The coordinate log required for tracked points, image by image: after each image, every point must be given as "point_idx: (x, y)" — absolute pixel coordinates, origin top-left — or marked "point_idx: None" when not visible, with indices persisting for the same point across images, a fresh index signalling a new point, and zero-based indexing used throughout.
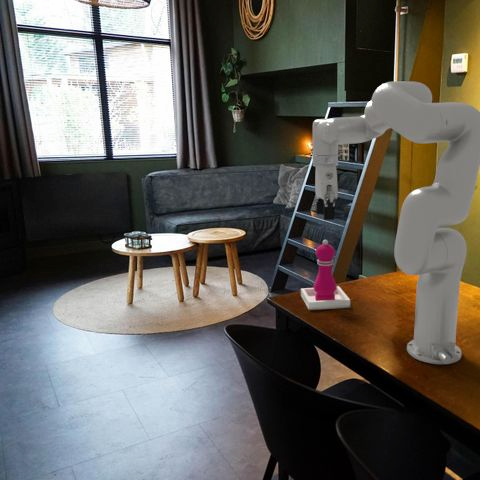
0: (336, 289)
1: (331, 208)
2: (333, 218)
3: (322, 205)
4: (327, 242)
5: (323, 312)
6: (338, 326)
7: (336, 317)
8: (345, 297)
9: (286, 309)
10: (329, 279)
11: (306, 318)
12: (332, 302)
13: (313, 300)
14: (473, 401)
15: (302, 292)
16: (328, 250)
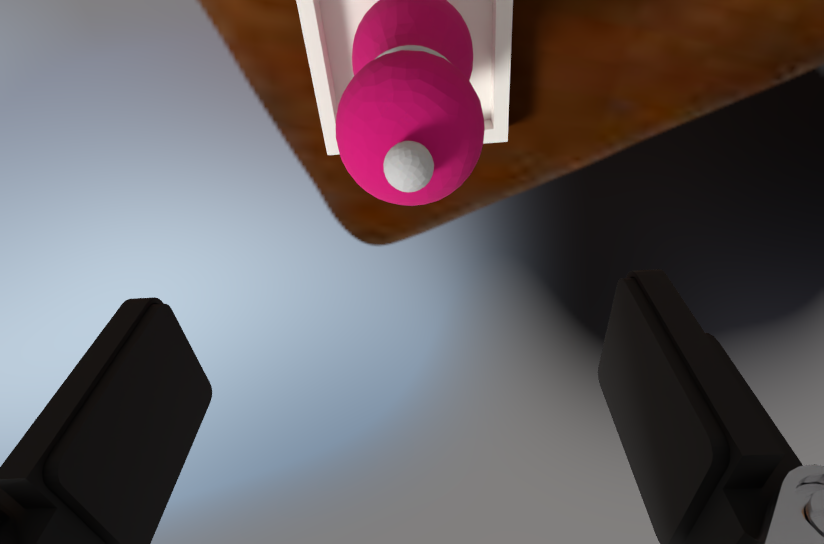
0: None
1: (784, 467)
2: (658, 285)
3: (132, 452)
4: (427, 153)
5: (540, 70)
6: (705, 29)
7: (610, 19)
8: None
9: (479, 208)
10: (458, 56)
11: (582, 148)
12: (511, 25)
13: None
14: None
15: None
16: (478, 131)
